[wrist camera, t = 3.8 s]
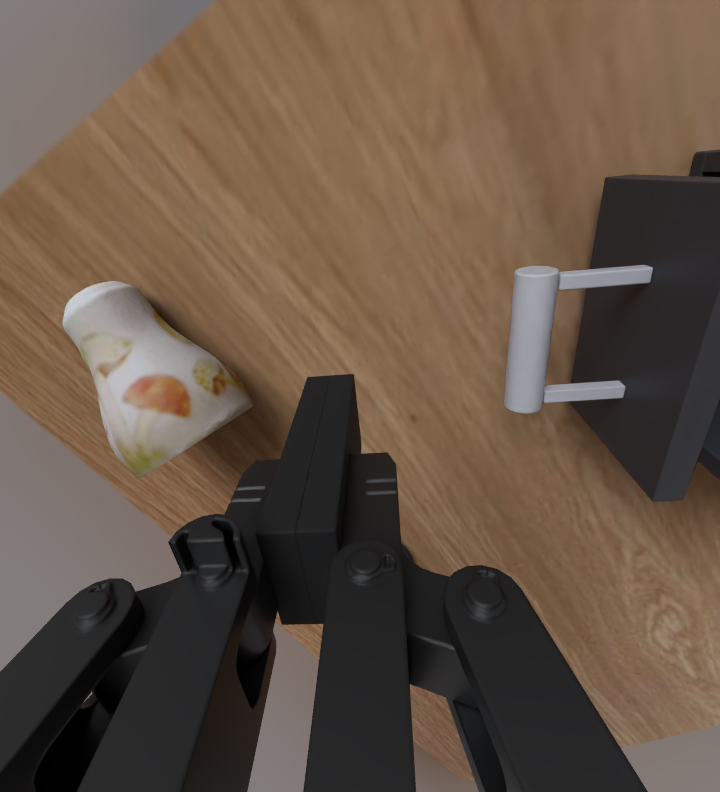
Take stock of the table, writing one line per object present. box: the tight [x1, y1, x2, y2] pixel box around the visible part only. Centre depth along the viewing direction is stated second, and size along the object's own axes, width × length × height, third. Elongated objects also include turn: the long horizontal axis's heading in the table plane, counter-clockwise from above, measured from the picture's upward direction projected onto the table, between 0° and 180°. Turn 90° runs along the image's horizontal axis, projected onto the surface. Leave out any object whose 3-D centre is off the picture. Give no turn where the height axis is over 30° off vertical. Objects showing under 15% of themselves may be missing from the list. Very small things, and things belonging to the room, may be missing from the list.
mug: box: [63, 281, 253, 477], centre depth 22 cm, size 8×10×10 cm
